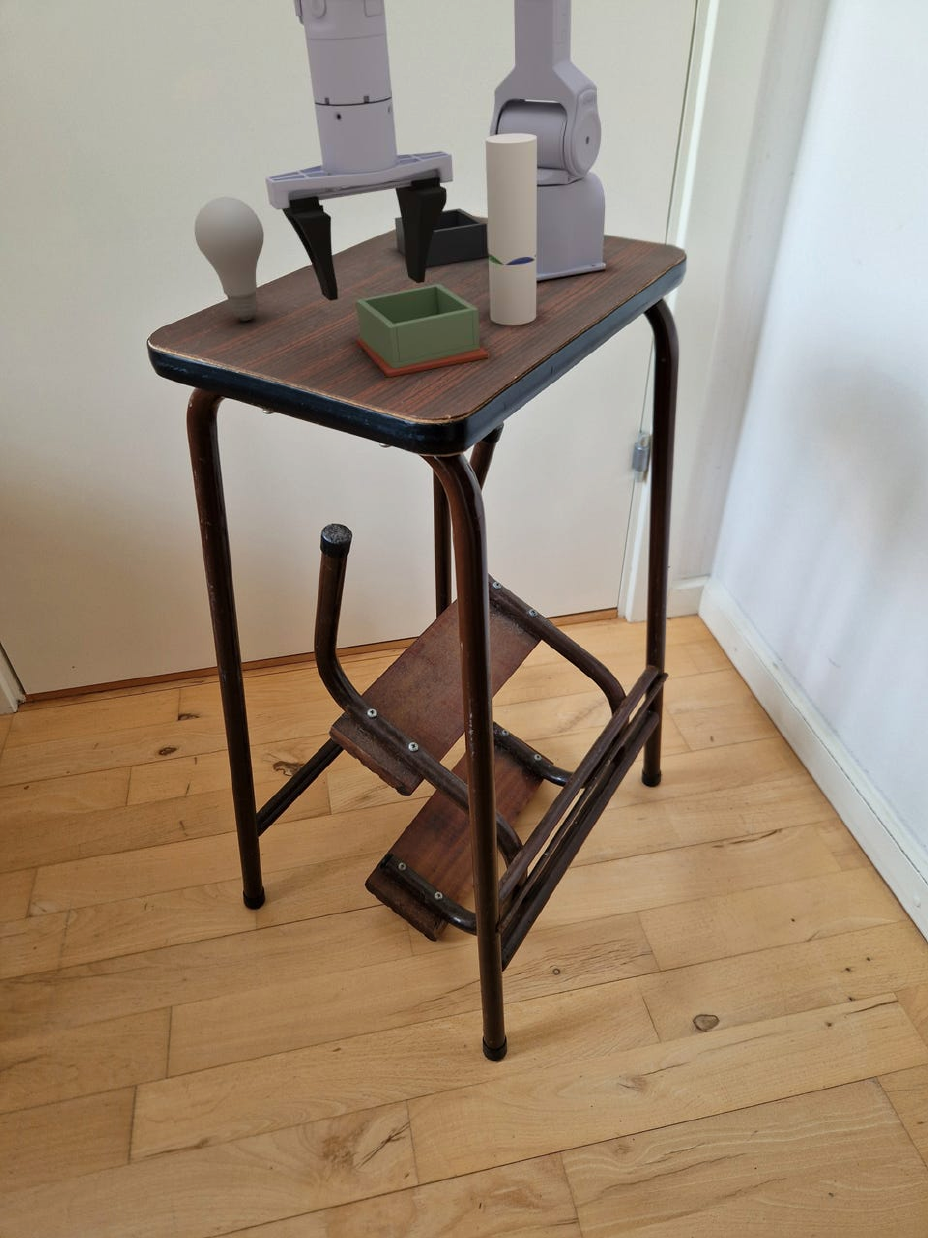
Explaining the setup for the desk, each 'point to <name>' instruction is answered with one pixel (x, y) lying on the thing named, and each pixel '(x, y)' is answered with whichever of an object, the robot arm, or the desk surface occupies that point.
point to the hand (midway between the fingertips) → (373, 288)
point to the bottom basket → (452, 238)
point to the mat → (424, 365)
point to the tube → (512, 226)
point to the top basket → (418, 325)
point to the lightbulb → (232, 250)
